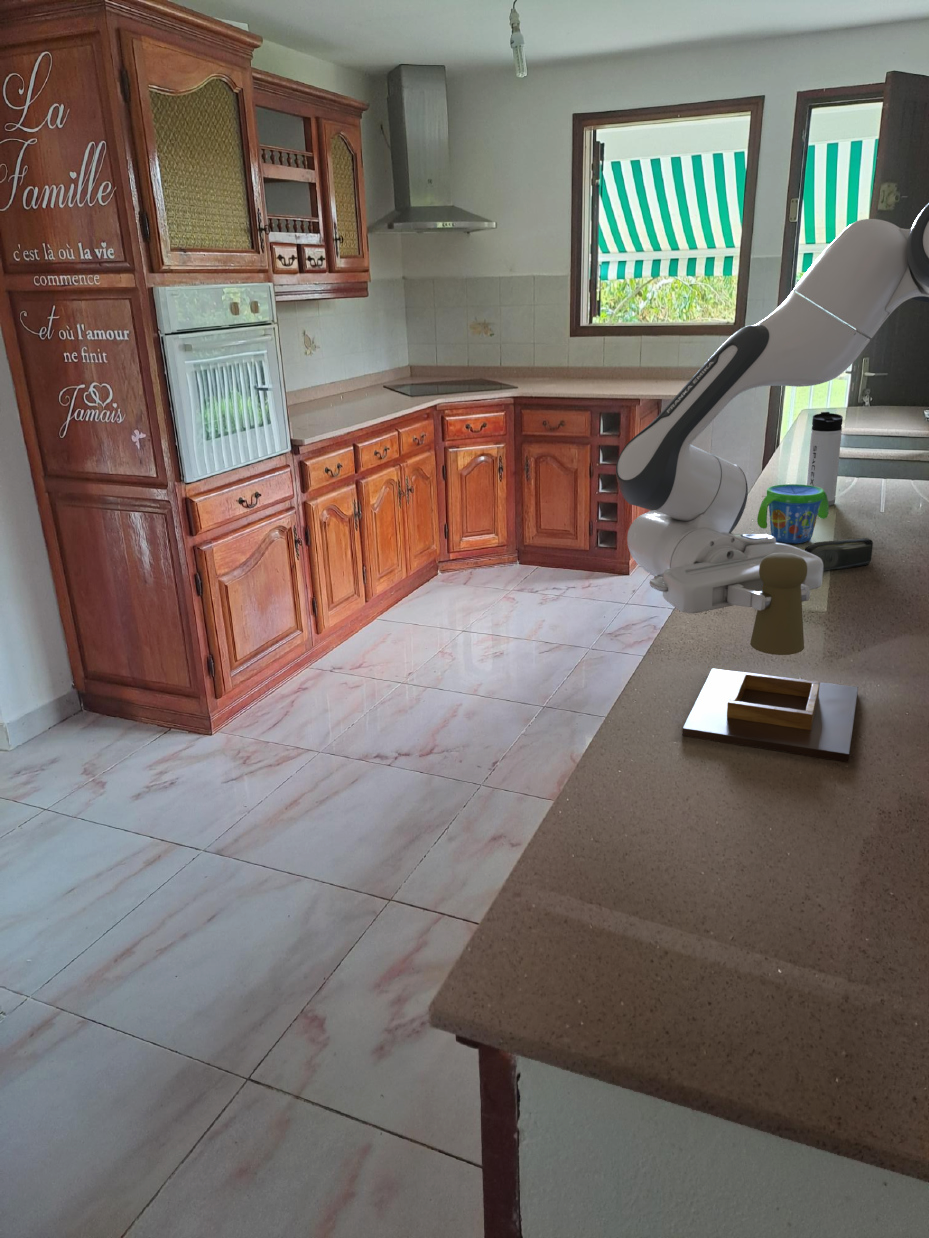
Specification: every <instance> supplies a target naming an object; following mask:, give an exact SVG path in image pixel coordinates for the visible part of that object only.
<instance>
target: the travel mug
mask: <svg viewBox="0 0 929 1238" xmlns="http://www.w3.org/2000/svg"><path fill="white" fill-rule="evenodd" d="M843 419H844V417H843V416H842V415H841V414H838V413H831V412H830V411H820V413H815V414H814V415H813V416H812V422H811V430H810V431H811V432H810V439H809V440H810V441H809V455H808V463H807V464H808V466H807V476H806V477H807V479H806V485H810V486H815V487H819V488H821V489H823V490H824V492H825V493H826V495H827V499H828V507H830V506H833V505H835V503H836V495H837V484H838V476H839V475H838V474H839V464H840V463H839V462H840V455H841V454H840V452H841V442H842V434H843V433H842V431H843V426H842V425H843ZM820 504H821V503H820ZM819 507H820V505H819Z"/></svg>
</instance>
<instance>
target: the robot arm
mask: <svg viewBox="0 0 929 1238" xmlns="http://www.w3.org/2000/svg"><path fill="white" fill-rule="evenodd" d="M910 299H912V300H914V301H918V302H923V303H928V304H929V202H928V203H927V204H926V205H925V206H924V207H923V209H922V210H921V211H920V212H919V213H918V215H917V217H916V218H915V220H914V222H913V223H912V226H911V228H904V227H903V228H901V227H900V226H897V225H896V224H894V223H892V222H889V221H887V220H883V219H879V218H864V219H860V220H856V221H855V222H853V223H851V224H849V225H848V226H847V227H845V228H844V229H843V230H842V232H840V233H839V234H838V236H837V237H835V239H833V241H832V242H830V244H828V245H827V247H826V248H825V249H824V250H823V251H822V252H821V254H820V255H818V257H817V258H816V259H815V261H813V263H812V264H811V266H810V267H809V268H808V269H807V271H806V272H805V273H804V274H803V275H802V277H801V278H800V280H799V281H798V282H797V284H796V285H795V287H794V288H793V290H792V291H791V292H790V293H789V295H788V296H787V298H785V300H784V301H783V302H782V303H781V304H780V305H779V306H777V308H776V309H775V310H774V311H772V312H771V313H770V314H769V315H768V316H766V317H765V318H764V319H762V320H760V321H759V322H757V323H756V324H751V325H746V326H743V327H741V328H740V329H738V330H737V331H735V332H734V333H733V334H732V335H730V337H728V338H727V340H725V342H724V343H722V344H721V345H720V346H719V347H718V348H717V350H716V351H715V352H714V353H713V354H712V355H711V356H710V357H709V358H708V359H707V361H706V362H705V363H704V364H703V365H702V366H701V367H700V369H699V370H698V371H697V372H695V374H694V375H692V377H691V378H690V379H689V381H688V382H687V383H686V384H685V385H684V387H682V389H681V390H680V391H679V392H678V393H677V394H675V395H676V396H674V397H673V399H672V400H671V401H670V402H669V404H667V405H666V406H665V407H664V409H663V410H662V411H661V412H660V413H659V414H658V415H657V416H656V417H655V418H654V419H653V420H652V421H651V422H650V423H649V424H648V425H646V426H645V427H644V428H643V429H642V430H640V431H639V432H638V433H637V434H636V435H634V436H633V437H632V439H630V441H628V442H627V443H626V444H625V446H624V447H623V449H622V450H621V451H620V453H619V456H618V458H617V460H616V461H617V462H616V465H615V466H616V467H615V477H616V481H617V485H618V486H617V487H618V489H619V491H620V493H621V495H622V497H623V499H624V500H625V502H626V503H627V504H629V505H631V506H635V507H638V508H642V509H646V510H649V511H647V512H645V513H642V514H640V515H639V516H637V517H636V518H635V519H634V520H633V521H632V522H631V524H630V526H629V528H628V531H627V535H626V536H627V537H626V541H627V542H626V543H627V548H628V551H629V553H630V555H631V557H632V559H633V561H634V562H635V563H636V564H637V565H638V566H639V567H641V569H642V570H644V571H645V572H647V573H648V574H649V575H652V577H653V578H651V579H650V580H649V587H650V588H652V589H654V590H656V591H658V592H662V597H663V599H664V600H665V601H666V602H667V603H669V605H671V606H673V607H674V608H675V609H676V610H678V611H680V612H682V613H685V614H699V613H703V612H708V611H714V610H719V609H723V608H728V607H733V606H737V607H745V608H752V609H754V610H756V611H757V610H759V611H760V610H765V609H769V608H770V606H771V602H772V596H771V595H770V594H768V593H766V592H764V591H762V587H763V581H762V580H761V578H760V575H759V567H760V563H761V561H762V559H763V558H764V557H765V556H767V555H769V554H773V553H791V554H796V555H798V556H800V557H802V558H803V559H804V560H805V561H806V563H807V576H806V579H805V581H804V582H803V583H802V584H801V597H802V603H803V602H808V601H810V599H811V591H812V590H816V589H817V590H818V589H819V588H821V586H822V583H823V578H824V577H823V576H824V571H823V562H822V560H821V558H819V557H818V556H816V555H814V554H811V553H809V552H807V551H804V549H801V548H799V547H797V546H794V545H791V544H788V543H783V542H777V541H776V538H775V537H774V536H771V534H767V533H750V534H749V533H748V534H747V533H746V534H745V533H742V534H740V533H733V531H734V530H735V528H737V525H738V524H739V522H740V521H741V518H742V517H743V514H744V512H745V508H746V506H747V503H748V502H747V501H748V494H749V487H748V480H747V477H746V475H745V472H744V470H743V469H742V468H741V467H740V466H738V465H737V464H734V463H733V462H730V461H728V460H727V459H724V458H723V457H720V456H718V455H715V454H713V453H710V452H707V451H705V450H703V449H702V448H699V447H697V446H694V445H692V444H693V442H694V441H695V440H696V439H697V438H698V437H699V436H700V435H701V433H703V431H704V430H705V429H706V428H707V427H708V426H709V425H710V424H711V423H712V422H713V421H714V420H715V418H716V417H717V416H718V415H719V414H720V413H721V412H722V410H723V409H725V407H726V406H728V404H729V403H730V402H732V401H733V399H735V398H736V397H738V396H739V395H740V394H743V393H744V392H746V391H749V390H752V389H756V388H761V387H772V386H773V387H775V386H776V387H777V386H780V387H781V386H782V387H795V388H797V387H798V388H800V387H803V388H804V387H811V386H817V385H821V384H824V383H827V382H830V381H832V380H834V379H837V378H838V377H839V376H840V375H842V374H843V373H844V372H846V370H848V368H850V366H851V365H853V363H854V362H855V361H856V360H857V359H858V358H859V356H860V355H861V353H862V352H863V351H864V349H865V348H866V346H867V345H868V344H869V343H870V342H871V339H873V338H874V336H875V335H876V334H877V332H879V329H880V328H881V327H882V325H883V324H884V323H885V322H886V321H887V319H888V318H889V317H890V316H891V314H892V313H893V312H894V311H895V310H896V309H897V308H898V307H900V305H901V304H903V303H904V302H906V301H909V300H910Z"/></svg>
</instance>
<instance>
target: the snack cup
mask: <svg viewBox="0 0 929 1238" xmlns="http://www.w3.org/2000/svg"><path fill="white" fill-rule="evenodd" d="M820 503H821V504H820ZM819 505H820V506H819ZM829 508H830V506H828V499H827V495H826V493H825V492H824V490H823V489H821V488H819V487H815V486H810V485H807V484H796V483H795V484H794V483H792V484H791V483H787V484H776V485H772V486H769V487H768V488H766V495H765V497H764V498H763V499H762V501H761V504H760V506H759V510H758V513H757V519H756V520H757V521H756V522H757V525H758V526H759V528H761V529H764V530H766V529H767V528H768V521H767V520H768V512H769V527H770V535H771V536H774V537H775V538H776V543H783V544H794V545H797V544H804V543H806V542H811V540H812V537H813V535H814V531H815V527H816V524H817V519H818V518H819V519H821V520H825V519H827V518H828V516H829V510H830V509H829Z"/></svg>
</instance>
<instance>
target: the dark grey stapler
mask: <svg viewBox="0 0 929 1238" xmlns="http://www.w3.org/2000/svg"><path fill="white" fill-rule="evenodd" d="M873 547H874V542H873V540H872V539H871V538H868V537H862V538H860V537H859V538H850V539H849V538H848V539H839V540H825V541H823V540H822V541H816V542H814V543H812V544H809V545H807V546H805V548H804V549H803V550H804V551H807V552H809V553H811V554H814V555H816V556H818V557H819V558H821V560H822V562H823V572H824V571H832V570H838V569H848V568H857V567H863V566H867V565H869V564H870V563H871V562H872V557H873V556H872V555H873Z"/></svg>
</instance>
